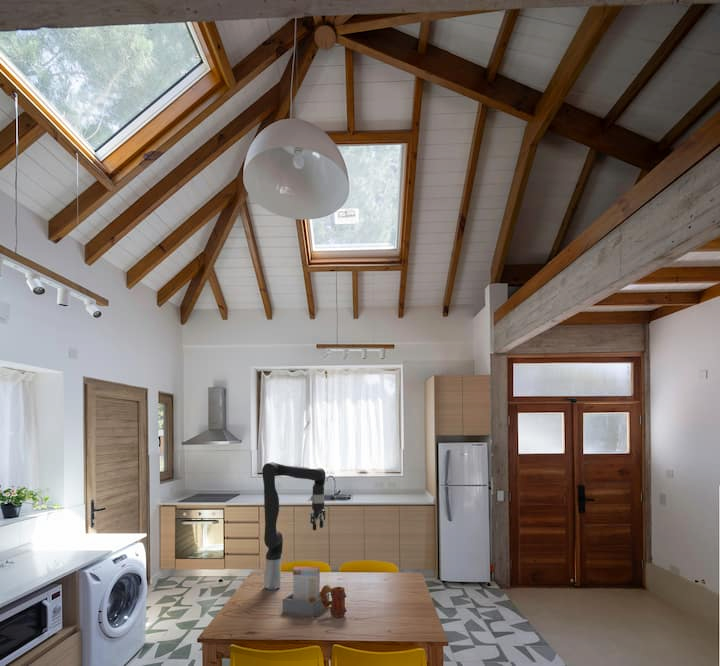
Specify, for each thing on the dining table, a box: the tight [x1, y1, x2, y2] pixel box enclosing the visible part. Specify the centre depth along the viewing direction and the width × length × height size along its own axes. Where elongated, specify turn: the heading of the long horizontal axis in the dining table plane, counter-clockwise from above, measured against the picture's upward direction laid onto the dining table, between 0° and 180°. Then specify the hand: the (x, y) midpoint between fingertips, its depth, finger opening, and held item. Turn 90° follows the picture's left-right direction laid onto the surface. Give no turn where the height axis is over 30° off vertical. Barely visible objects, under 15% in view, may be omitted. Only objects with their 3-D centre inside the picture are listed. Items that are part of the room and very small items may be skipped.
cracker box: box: [292, 565, 321, 603], centre depth 309 cm, size 14×6×21 cm, turn 83°
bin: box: [282, 591, 330, 618], centre depth 307 cm, size 19×19×7 cm
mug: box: [320, 584, 348, 619], centre depth 299 cm, size 15×8×15 cm, turn 71°
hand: (317, 528), depth 343 cm, fingers open, 8 cm apart
